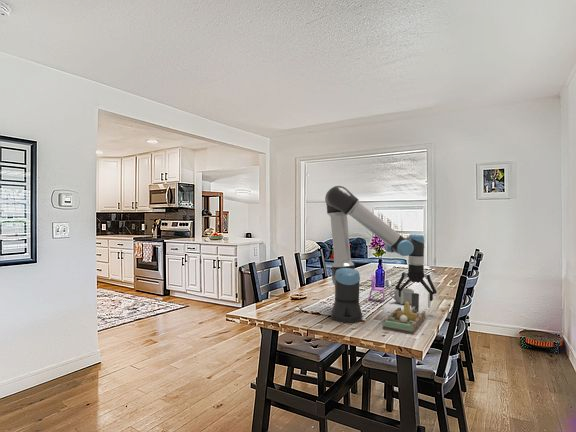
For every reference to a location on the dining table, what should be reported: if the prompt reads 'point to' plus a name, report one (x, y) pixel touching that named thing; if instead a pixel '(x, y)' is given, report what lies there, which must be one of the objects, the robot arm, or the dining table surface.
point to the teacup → (406, 295)
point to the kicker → (413, 306)
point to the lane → (415, 324)
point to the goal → (398, 324)
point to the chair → (376, 288)
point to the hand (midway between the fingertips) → (415, 305)
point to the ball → (403, 319)
